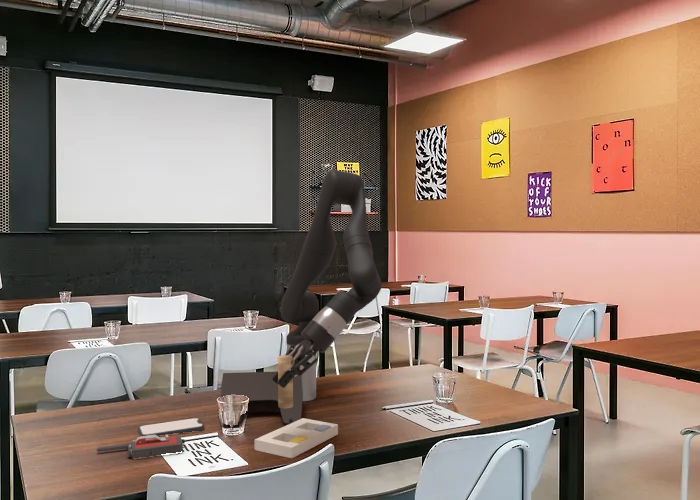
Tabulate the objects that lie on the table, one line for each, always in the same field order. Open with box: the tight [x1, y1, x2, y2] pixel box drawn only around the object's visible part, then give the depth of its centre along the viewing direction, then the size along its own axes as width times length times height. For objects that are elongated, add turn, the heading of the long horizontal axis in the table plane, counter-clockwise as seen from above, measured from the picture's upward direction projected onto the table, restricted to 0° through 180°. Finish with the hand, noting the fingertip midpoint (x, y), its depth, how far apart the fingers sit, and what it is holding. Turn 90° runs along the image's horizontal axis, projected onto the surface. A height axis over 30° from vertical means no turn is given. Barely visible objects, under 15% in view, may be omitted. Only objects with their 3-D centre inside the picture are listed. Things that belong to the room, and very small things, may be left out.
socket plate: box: [254, 417, 339, 459], centre depth 154 cm, size 20×11×3 cm, turn 149°
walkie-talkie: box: [96, 434, 186, 459], centre depth 147 cm, size 9×4×20 cm
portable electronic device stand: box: [220, 370, 303, 425], centre depth 176 cm, size 23×23×9 cm
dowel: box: [277, 354, 293, 408], centre depth 150 cm, size 4×4×12 cm
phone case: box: [137, 417, 205, 436], centre depth 164 cm, size 9×2×16 cm
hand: (277, 383), depth 149 cm, fingers closed on dowel, 3 cm apart
